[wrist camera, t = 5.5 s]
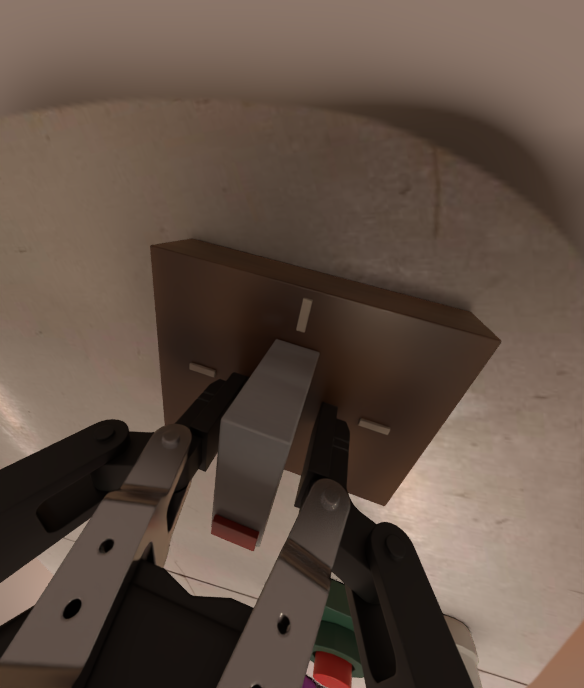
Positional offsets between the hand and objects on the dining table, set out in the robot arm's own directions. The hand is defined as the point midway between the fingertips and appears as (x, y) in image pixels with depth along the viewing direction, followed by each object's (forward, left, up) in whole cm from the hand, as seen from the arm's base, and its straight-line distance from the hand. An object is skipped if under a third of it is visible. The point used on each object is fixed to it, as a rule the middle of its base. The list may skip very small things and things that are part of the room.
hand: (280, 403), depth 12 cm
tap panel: (0, 0, -4) cm, 4 cm away
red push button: (-11, +30, 0) cm, 32 cm away
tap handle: (0, 0, -1) cm, 1 cm away
